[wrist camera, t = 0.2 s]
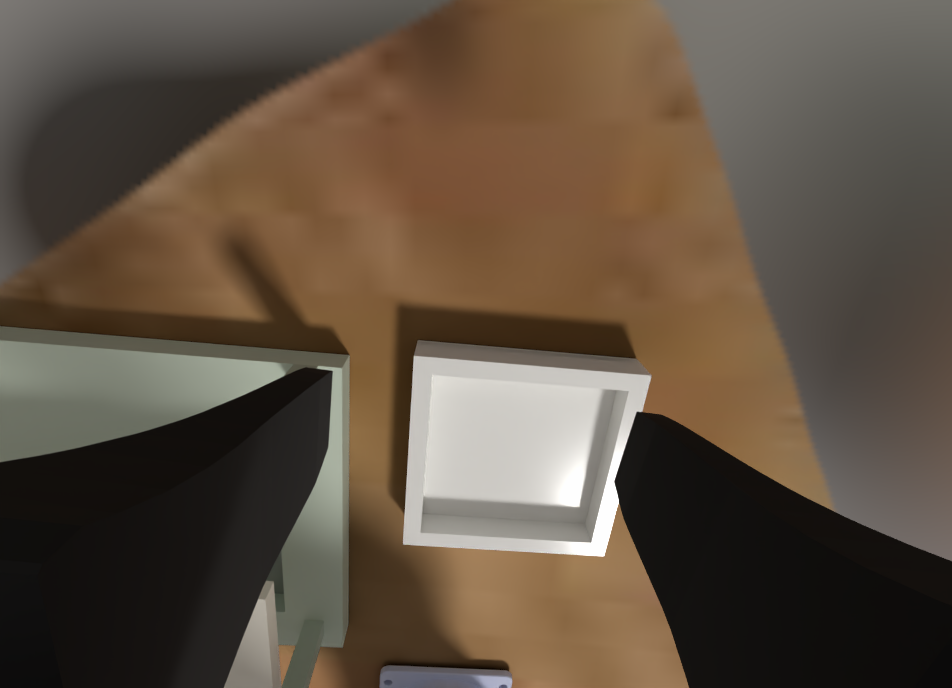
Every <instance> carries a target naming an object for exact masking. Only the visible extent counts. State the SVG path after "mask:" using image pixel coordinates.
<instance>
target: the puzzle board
mask: <svg viewBox="0 0 952 688" xmlns="http://www.w3.org/2000/svg"><path fill="white" fill-rule="evenodd" d="M305 367H308V368H316V369H323V370H331V371H333V377H332V394H331V411H330V429H329V446H328V450H327V453H326V456H325V459H324V462H323V464H322V467H321V470H320V473H319V476H318V478H317V481H316V484H315V486H314V488H313V490H312V492H311V494H310V496H309V498H308V500H307V502H306V504H305V506H304V508H303V509H302V511H301V513H300V515H299V517H298V519H297V521H296V523H295V525H294V527H293V529H292V531H291V533H290V535H289V536H288V538H287V540H286V542H285V544H284V546H283V548H282V550H281V552H280V554H279V556H278V558H277V560H276V561H275V563H274V565H273V567H272V569H271V571H270V573H269V576H268V578H267V580H266V581H274V593H275V606H276V620H277V633H278V645H296V647H295V650H294V653H293V656H292V659H291V661H290V664H289V667H288V670H287V673H286V676H285V679H284V682H283V685H282V688H308V687H309V684H310V680H311V677H312V673H313V670H314V667H315V663H316V660H317V656H318V653H319V650H320V647H340V648H343V644H344V640H345V636H346V632H347V628H348V624H349V375H350V355H343V354H331V353H319V352H307V351H294V350H282V349H270V348H258V347H246V346H234V345H222V344H210V343H198V342H186V341H174V340H162V339H149V338H137V337H125V336H113V335H101V334H89V333H77V332H65V331H53V330H41V329H29V328H17V327H4V326H0V462H4V461H10V460H16V459H22V458H28V457H34V456H39V455H44V454H49V453H55V452H60V451H65V450H70V449H75V448H79V447H83V446H88V445H92V444H96V443H100V442H104V441H108V440H112V439H116V438H120V437H124V436H128V435H133V434H137V433H140V432H144V431H147V430H150V429H154V428H157V427H160V426H163V425H166V424H170V423H173V422H176V421H179V420H182V419H185V418H188V417H190V416H193V415H196V414H199V413H201V412H204V411H206V410H209V409H211V408H213V407H216V406H218V405H221V404H223V403H226V402H228V401H230V400H233V399H235V398H238V397H240V396H242V395H245V394H247V393H249V392H251V391H253V390H255V389H258V388H260V387H262V386H264V385H266V384H268V383H271V382H273V381H275V380H277V379H279V378H281V377H283V376H285V375H287V374H290V373H292V372H294V371H296V370H299V369H302V368H305Z"/></svg>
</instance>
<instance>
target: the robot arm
mask: <svg viewBox="0 0 952 688" xmlns="http://www.w3.org/2000/svg"><path fill="white" fill-rule="evenodd" d="M332 377H333V371H331V370H323V369H316V368H308V367H305V368H302V369H299V370H296V371H294V372H292V373H290V374H287V375H285V376H283V377H281V378H279V379H277V380H275V381H273V382H271V383H268V384H266V385H264V386H262V387H260V388H258V389H255V390H253V391H251V392H249V393H247V394H245V395H242V396H240V397H238V398H235V399H233V400H230V401H228V402H226V403H223V404H221V405H218V406H216V407H213V408H211V409H209V410H206V411H204V412H201V413H199V414H196V415H193V416H190V417H188V418H185V419H182V420H179V421H176V422H173V423H170V424H166V425H163V426H160V427H157V428H154V429H150V430H147V431H144V432H140V433H137V434H133V435H128V436H124V437H120V438H116V439H112V440H108V441H104V442H100V443H96V444H92V445H88V446H83V447H79V448H75V449H70V450H65V451H60V452H55V453H49V454H44V455H39V456H34V457H28V458H22V459H16V460H10V461H4V462H0V688H224V686H225V683H226V681H227V678H228V675H229V673H230V670H231V668H232V665H233V662H234V660H235V657H236V654H237V652H238V649H239V646H240V644H241V641H242V639H243V636H244V633H245V631H246V628H247V626H248V623H249V621H250V618H251V616H252V613H253V611H254V608H255V606H256V603H257V601H258V598H259V596H260V593H261V591H262V588H263V586H264V584H265V582H266V580H267V578H268V576H269V573H270V571H271V569H272V567H273V565H274V563H275V561H276V560H277V558H278V556H279V554H280V552H281V550H282V548H283V546H284V544H285V542H286V540H287V538H288V536H289V535H290V533H291V531H292V529H293V527H294V525H295V523H296V521H297V519H298V517H299V515H300V513H301V511H302V509H303V508H304V506H305V504H306V502H307V500H308V498H309V496H310V494H311V492H312V490H313V488H314V486H315V484H316V481H317V478H318V476H319V473H320V470H321V467H322V464H323V462H324V459H325V456H326V453H327V450H328V446H329V429H330V411H331V394H332ZM614 484H615V488H616V492H617V496H618V500H619V504H620V507H621V511H622V514H623V517H624V520H625V523H626V525H627V528H628V530H629V532H630V535H631V537H632V539H633V542H634V544H635V547H636V549H637V551H638V553H639V556H640V558H641V560H642V563H643V565H644V567H645V569H646V572H647V574H648V576H649V579H650V581H651V583H652V585H653V588H654V590H655V592H656V595H657V597H658V599H659V601H660V604H661V606H662V608H663V611H664V613H665V616H666V619H667V621H668V624H669V626H670V629H671V632H672V635H673V638H674V641H675V644H676V647H677V650H678V653H679V657H680V660H681V663H682V666H683V669H684V672H685V675H686V678H687V682H688V685H689V688H952V561H950V560H947V559H944V558H942V557H939V556H936V555H934V554H931V553H929V552H926V551H924V550H921V549H918V548H916V547H913V546H911V545H908V544H906V543H904V542H901V541H899V540H897V539H894V538H892V537H889V536H887V535H885V534H882V533H880V532H877V531H875V530H873V529H871V528H868V527H866V526H864V525H861V524H859V523H857V522H855V521H853V520H850V519H848V518H846V517H844V516H842V515H840V514H838V513H836V512H834V511H832V510H830V509H828V508H826V507H824V506H822V505H820V504H818V503H815V502H813V501H811V500H809V499H807V498H805V497H804V496H802V495H800V494H798V493H796V492H794V491H792V490H790V489H788V488H787V487H785V486H783V485H781V484H780V483H778V482H776V481H774V480H773V479H771V478H769V477H767V476H765V475H764V474H762V473H760V472H758V471H757V470H755V469H753V468H752V467H750V466H748V465H747V464H745V463H743V462H742V461H740V460H738V459H737V458H735V457H733V456H732V455H730V454H729V453H727V452H725V451H724V450H722V449H721V448H719V447H717V446H716V445H714V444H712V443H711V442H709V441H708V440H706V439H704V438H703V437H701V436H699V435H698V434H696V433H695V432H693V431H691V430H690V429H688V428H686V427H684V426H683V425H681V424H679V423H677V422H676V421H674V420H672V419H670V418H668V417H665V416H663V415H659V414H652V413H644V412H636V415H635V418H634V421H633V424H632V428H631V431H630V434H629V437H628V440H627V443H626V446H625V449H624V452H623V455H622V458H621V461H620V465H619V468H618V471H617V474H616V477H615V480H614ZM511 686H512V674H511V673H510V672H509V671H506V670H488V669H465V668H441V667H418V666H395V665H387V666H384V667H383V668H382V669H381V673H380V688H511Z"/></svg>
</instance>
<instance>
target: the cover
mask: <svg viewBox="0 0 952 688" xmlns="http://www.w3.org/2000/svg"><path fill="white" fill-rule="evenodd" d="M224 688H282V687H281V674H280V660H279V647H278V633H277V620H276V606H275V593H274V581H266V582H265V584H264V586H263V588H262V591H261V593H260V596H259V598H258V601H257V603H256V606H255V608H254V611H253V613H252V616H251V618H250V621H249V623H248V626H247V628H246V631H245V633H244V636H243V639H242V641H241V644H240V646H239V649H238V652H237V654H236V657H235V660H234V662H233V665H232V668H231V670H230V673H229V675H228V678H227V681H226V683H225V686H224Z"/></svg>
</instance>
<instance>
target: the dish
mask: <svg viewBox="0 0 952 688" xmlns="http://www.w3.org/2000/svg"><path fill="white" fill-rule="evenodd" d="M650 380H651V374H650V373H649V372H648V371H647V370H646V369H645V368H644V366H643V365H642V364H641V363H640V362H639V361H638V360H637V359H634V358H622V357H610V356H599V355H587V354H575V353H563V352H552V351H540V350H528V349H517V348H505V347H493V346H482V345H470V344H458V343H446V342H435V341H423V340H418V341H417V345H416V349H415V353H414V363H413V380H412V397H411V414H410V431H409V449H408V466H407V483H406V500H405V517H404V535H403V545H419V546H436V547H453V548H470V549H487V550H504V551H521V552H538V553H555V554H572V555H589V556H604V555H605V551H606V547H607V543H608V539H609V536H610V532H611V528H612V524H613V520H614V517H615V513H616V509H617V505H618V501H619V500H618V496H617V492H616V488H615V484H614V480H615V477H616V474H617V471H618V468H619V465H620V461H621V458H622V455H623V452H624V449H625V446H626V443H627V440H628V437H629V434H630V431H631V428H632V424H633V421H634V418H635V415H636V412H642V410H643V406H644V402H645V399H646V395H647V391H648V387H649V383H650Z"/></svg>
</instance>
